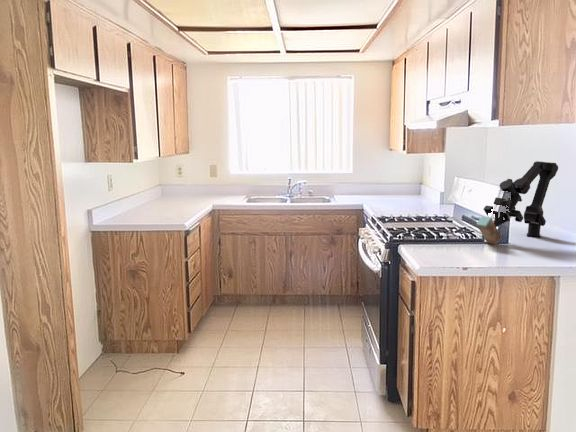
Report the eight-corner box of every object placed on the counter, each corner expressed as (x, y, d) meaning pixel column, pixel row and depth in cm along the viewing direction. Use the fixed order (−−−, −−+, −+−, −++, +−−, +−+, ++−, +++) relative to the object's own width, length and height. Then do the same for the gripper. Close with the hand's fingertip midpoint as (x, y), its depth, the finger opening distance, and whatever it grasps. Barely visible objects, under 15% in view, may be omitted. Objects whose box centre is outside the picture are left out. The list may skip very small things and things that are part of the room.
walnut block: (492, 235, 246) (481, 216, 239) (501, 237, 242) (490, 217, 235) (487, 242, 244) (476, 223, 238) (496, 244, 240) (485, 225, 233)
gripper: (487, 189, 249) (471, 213, 245) (522, 193, 234) (505, 219, 230) (495, 203, 255) (480, 227, 251) (530, 209, 239) (514, 234, 235)
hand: (494, 226), depth 241 cm, fingers closed
